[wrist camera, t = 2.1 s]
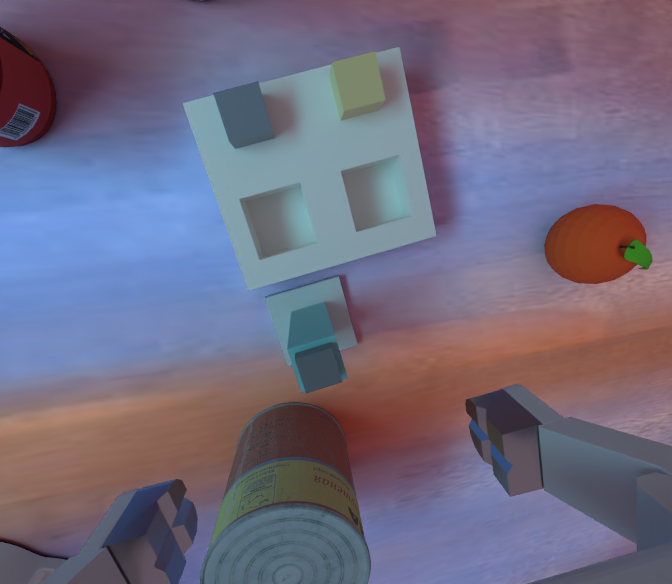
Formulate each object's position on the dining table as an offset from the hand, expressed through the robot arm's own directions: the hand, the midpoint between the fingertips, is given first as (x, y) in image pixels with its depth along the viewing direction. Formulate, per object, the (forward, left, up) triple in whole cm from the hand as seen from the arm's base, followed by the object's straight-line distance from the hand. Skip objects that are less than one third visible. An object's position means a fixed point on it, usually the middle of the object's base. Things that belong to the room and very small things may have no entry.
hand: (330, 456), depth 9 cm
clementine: (-3, -26, -21) cm, 33 cm away
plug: (-3, 0, -21) cm, 21 cm away
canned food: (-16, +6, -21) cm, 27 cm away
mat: (-3, 0, -21) cm, 21 cm away
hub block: (+9, -4, -21) cm, 23 cm away
